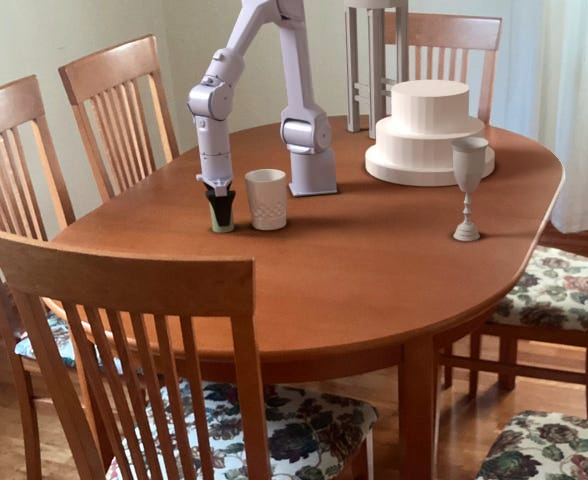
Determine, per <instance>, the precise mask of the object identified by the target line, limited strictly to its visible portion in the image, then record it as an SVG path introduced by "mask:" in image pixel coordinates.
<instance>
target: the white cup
mask: <svg viewBox="0 0 588 480" xmlns="http://www.w3.org/2000/svg"><path fill="white" fill-rule="evenodd" d="M244 182H245V189H246V195H247V196H246V197H247V203H248V208H249V213H250V217H251V224H252V225H251V226H252V227H253V228H254V229H256V230H260V231H274V230H279V229H281V228H284V227H285V226H286V225H287V174H286V172H284V171H283V170H279V169H272V168H263V169H257V170H252V171H249V172H247V173H245V174H244Z"/></svg>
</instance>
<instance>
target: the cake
mask: <svg viewBox="0 0 588 480" xmlns="http://www.w3.org/2000/svg"><path fill="white" fill-rule="evenodd" d="M390 91H391V97H390V98H391V115H390V116H386V118H384V119H382V120H380V121H378V122H377V123H376V139H375V144H374V145H373V144H372V145H371V146H370V147H369V148H368V149H367V150H366V151H365V154H364V157H365V158H364V159H365V169H366V171H367V172H368V173H369V174H370V175H371V176H373V177H375V178H377V179H379V180H382V181H385V182H388V183H392V184H396V185H397V184H398V185H404V186H413V187H414V186H415V187H446V186H455V185H458V183H457V180H456V178H455V175H454V171H453V147H452V145H451V141H452V140H454V139H457V138H462V137H478V138H483V139H485V129H486V127H485V126H486V125H485V122H484V121H483V120H482V119H480V118H478V117H475V116H472V115H469V114H470V86H469V85H468V84H466V83H463V82H460V81H455V80H449V79H448V80H446V79H415V80H409V81H407V82H402V83H398V84H396V85H394V86H392V85H391V90H390ZM495 155H496V153H495V150H494V149H493V148H492V147H491V146H489V145H487V147H486V152H485V170H484V173H483V175H482V178H481V179H484V178H486V177H487V176H489V175H490V174H491V173H493V171H494V169H495V159H496V158H495V157H496V156H495Z"/></svg>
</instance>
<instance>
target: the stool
mask: <svg viewBox="0 0 588 480" xmlns="http://www.w3.org/2000/svg"><path fill="white" fill-rule="evenodd" d="M394 8H395V79H391V78H388V77H387V68H386V62H387V61H386V57H387V56H386V9H394ZM358 9H366V36H367V41H366V42H367V78H368V79H367V82H368V84H364V83H361V82H359V81H360V79H359V49H358V48H359V47H358V46H359V44H358V15H357V14H358V12H357V10H358ZM343 27H344V57H345V83H346V84H345V85H346V111H347V112H346V113H347V131H349V132H352V133H355V132H360V131H361V117H360V116H361V115H360V114H361V113H360V103H364V104H366V105H368V123H369V124H368V125H369V126H368V127H369V138H370V139H372V140H376V123H377V122H378V121H380V120H382V119H384V118H386V117H387V97H388V98H391V90H387V85H389V86H391V87H392V86H394V85H396V84H398V83H402V82H407V81H410V80H409V79H410V77H409V75H410V73H409V70H410V69H409V67H410V66H409V65H410V64H409V60H410V59H409V53H410V51H409V44H410V43H409V41H410V39H409V0H343ZM360 90H361V91H364V92H368V97H367V96H363V95H360Z"/></svg>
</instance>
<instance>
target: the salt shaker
mask: <svg viewBox="0 0 588 480" xmlns="http://www.w3.org/2000/svg"><path fill="white" fill-rule="evenodd" d="M226 191H228V190H226ZM208 202H209V201H208ZM209 211H210V219H211V228H212V231H213V232H214V233H219V234H221V233H222V234H223V233H229V232H232V231H234V230H235V223H234V214H233V207H232V208H231V219H230V225H229V226H223V227H219V226H218V224H217V221H216V217H215V214H214V210H213V208H212V205H211V203H210V202H209Z"/></svg>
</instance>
